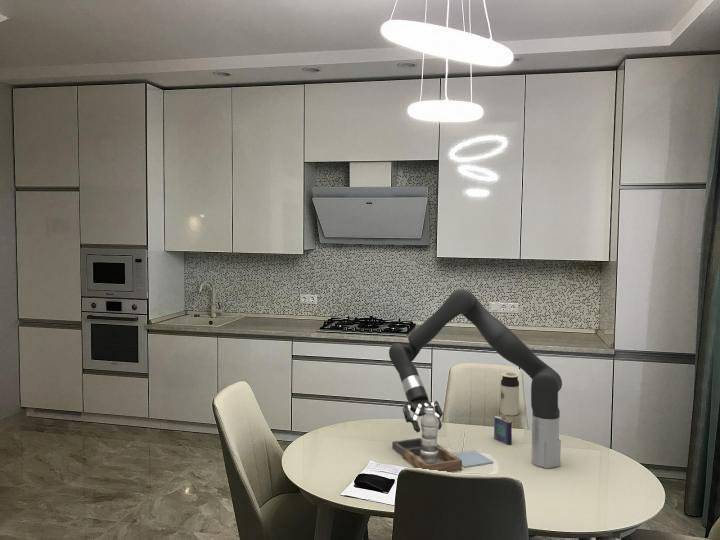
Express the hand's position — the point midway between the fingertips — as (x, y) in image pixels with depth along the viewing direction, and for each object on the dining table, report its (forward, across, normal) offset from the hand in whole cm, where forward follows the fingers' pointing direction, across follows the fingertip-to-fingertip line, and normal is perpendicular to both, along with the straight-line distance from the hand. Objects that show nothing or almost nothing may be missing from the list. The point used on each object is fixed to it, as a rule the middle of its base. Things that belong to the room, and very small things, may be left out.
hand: (429, 429), depth 218 cm
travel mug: (-19, +63, +36) cm, 75 cm away
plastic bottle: (+9, 0, +8) cm, 12 cm away
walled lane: (+10, 0, +7) cm, 12 cm away
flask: (+2, +38, +15) cm, 41 cm away
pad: (+11, +15, +6) cm, 19 cm away
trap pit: (-1, 0, +17) cm, 17 cm away
